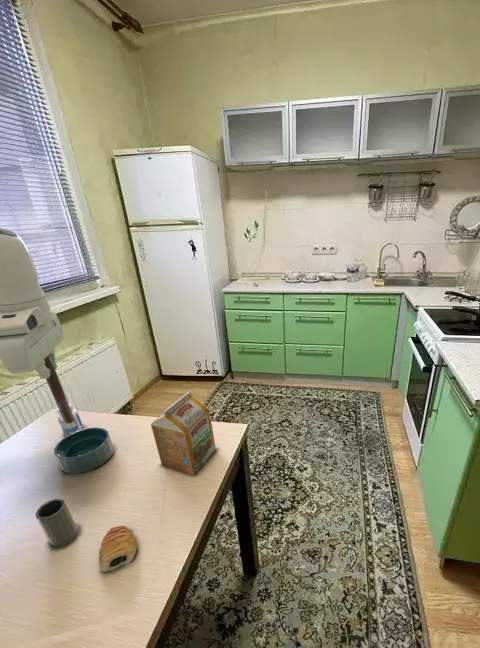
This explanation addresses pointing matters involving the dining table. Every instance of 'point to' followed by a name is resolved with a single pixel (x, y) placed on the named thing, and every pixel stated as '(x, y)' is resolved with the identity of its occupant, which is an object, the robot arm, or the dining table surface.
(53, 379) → the stick
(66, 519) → the holder
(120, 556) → the pastry
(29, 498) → the dining table surface
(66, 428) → the pill bottle
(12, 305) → the robot arm
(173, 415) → the milk carton
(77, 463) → the bowl
